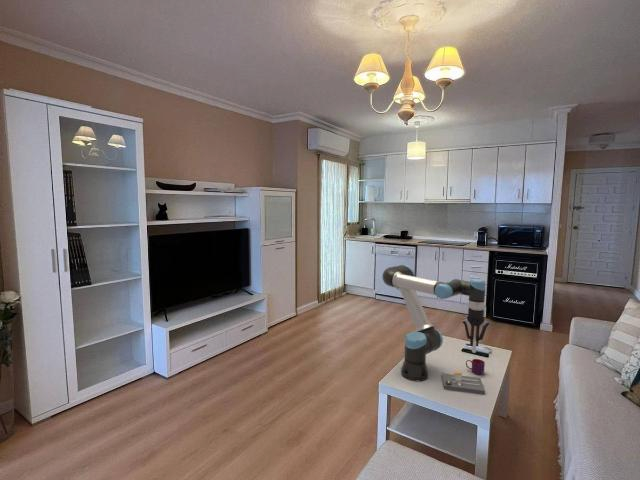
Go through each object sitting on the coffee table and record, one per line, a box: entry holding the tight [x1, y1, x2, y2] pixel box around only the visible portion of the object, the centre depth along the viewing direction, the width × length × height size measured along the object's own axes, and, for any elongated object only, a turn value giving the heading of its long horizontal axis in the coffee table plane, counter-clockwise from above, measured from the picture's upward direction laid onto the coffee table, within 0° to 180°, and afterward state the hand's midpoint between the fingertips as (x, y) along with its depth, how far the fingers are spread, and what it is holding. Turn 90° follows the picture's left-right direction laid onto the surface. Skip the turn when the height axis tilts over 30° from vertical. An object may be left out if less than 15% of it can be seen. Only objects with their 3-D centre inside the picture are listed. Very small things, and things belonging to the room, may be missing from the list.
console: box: [441, 372, 486, 395], centre depth 188 cm, size 20×14×3 cm
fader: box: [454, 370, 463, 382], centre depth 188 cm, size 3×3×5 cm
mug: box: [465, 358, 486, 376], centre depth 203 cm, size 7×10×7 cm
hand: (473, 351), depth 185 cm, fingers closed
